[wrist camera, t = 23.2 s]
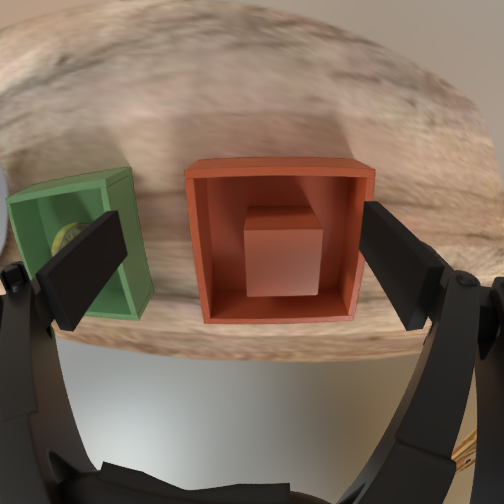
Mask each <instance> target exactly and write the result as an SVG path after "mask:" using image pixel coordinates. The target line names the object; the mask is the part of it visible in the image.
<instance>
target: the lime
mask: <svg viewBox="0 0 504 504" xmlns="http://www.w3.org/2000/svg"><path fill="white" fill-rule="evenodd" d="M87 226H89V224H87V223H71V224H68V225H66V226H64V227H63V228H62V229H61V230H60V231H59V232H58V233H57V235H56V237H55V238H54V241H53V244H52V249H51V251H52V257H53V256H54V255H55V254H57V253H58V252H59V251H60V250H61V249H62V248H63V247H64V246H65V245H67V244H68V243H69V242H70V241H71V240H72V239H73V238H75V237H76V236H77V235H78V234H79V233H80V232H82V231H83V230H84V229H85V228H86V227H87Z"/></svg>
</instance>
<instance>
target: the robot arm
mask: <svg viewBox="0 0 504 504" xmlns="http://www.w3.org/2000/svg"><path fill="white" fill-rule="evenodd" d="M358 249H359V251H360V252H361V254H362V255H363V257H364V258H365V260H366V262H367V263H368V265H369V266H370V268H371V270H372V271H373V273H374V275H375V276H376V278H377V280H378V281H379V283H380V285H381V286H382V288H383V290H384V291H385V293H386V295H387V297H388V298H389V300H390V302H391V304H392V305H393V307H394V309H395V311H396V312H397V314H398V316H399V318H400V320H401V322H402V323H403V325H404V327H405V329H406V331H411V330H417V329H423V327H424V325H425V322H426V320H427V317H429V318H430V320H431V321H432V325H431V327H430V330H429V332H428V334H427V336H426V339H425V341H424V343H423V345H424V347H423V350H422V352H421V355H420V358H419V360H418V363H417V365H416V368H415V370H414V373H413V375H412V378H411V380H410V382H409V384H408V387H407V389H406V391H405V394H404V396H403V398H402V400H401V402H400V404H399V406H398V408H397V410H396V412H395V414H394V416H393V418H392V420H391V422H390V424H389V426H388V428H387V430H386V431H385V433H384V435H383V437H382V439H381V440H380V442H379V444H378V446H377V447H376V449H375V450H374V452H373V454H372V456H371V457H370V459H369V461H368V462H367V463H366V465H365V467H364V468H363V470H362V471H361V473H360V474H359V475H358V477H357V478H356V480H355V481H354V482H353V483H352V485H351V486H350V487H349V488H348V490H347V491H346V492H345V493H344V494H343V496H342V497H341V498H340V500H339V501H338V502H337V503H336V504H442V503H443V501H444V499H445V497H446V495H447V492H448V490H449V488H450V485H451V483H452V480H453V478H454V475H455V471H456V462H455V461H453V460H452V459H451V455H452V451H453V448H454V445H455V442H456V439H457V436H458V433H459V429H460V426H461V422H462V419H463V415H464V412H465V408H466V404H467V399H468V395H469V390H470V385H471V380H472V375H473V369H474V366H475V376H476V389H477V390H476V391H477V448H476V461H475V471H474V479H473V486H472V493H471V498H470V504H504V277H496V278H495V279H494V282H493V284H492V287H484V286H481V285H480V282H479V280H478V279H477V278H476V277H475V276H473V275H472V274H470V273H468V272H465V271H461V270H455V271H454V270H453V269H452V268H451V267H450V265H449V264H448V263H447V262H446V261H445V260H444V259H443V258H441V256H440V255H439V254H438V253H437V252H436V251H435V250H434V249H433V248H432V247H431V246H429V245H427V244H426V243H424V242H422V241H420V240H419V239H418V238H417V237H416V236H415V235H414V234H413V233H412V232H410V231H409V230H408V229H407V228H406V227H405V226H404V225H403V224H402V223H401V222H400V221H399V220H398V219H396V218H395V217H394V216H393V215H392V214H391V213H390V212H389V211H388V210H386V209H385V208H384V207H383V206H382V205H381V204H380V203H378V202H377V201H364V207H363V217H362V225H361V233H360V241H359V248H358ZM127 256H128V252H127V248H126V244H125V240H124V236H123V231H122V227H121V222H120V217H119V213H118V210H112V211H106V212H105V213H103V214H102V215H101V216H100V217H98V218H97V219H96V220H95V221H94V222H92V223H91V224H90V225H89V226H87V227H86V228H85V229H84V230H83V231H82V232H80V233H79V234H78V235H77V236H76V237H75V238H73V239H72V240H71V241H70V242H69V243H68V244H67V245H65V246H64V247H63V248H62V249H61V250H60V251H59V252H58V253H57V254H55V255H54V256H53V257H52V258H51V259H50V260H49V261H48V262H47V263H46V264H45V265H44V266H43V267H42V268H41V269H40V270H39V271H38V272H37V273H36V274H35V277H34V278H33V279H32V280H31V281H30V278H29V276H28V273H27V271H26V268H25V266H24V263H23V262H22V261H17V262H14V263H12V264H10V265H8V266H6V267H5V268H3V269H2V270H1V271H0V279H1V281H2V284H3V286H4V288H5V290H6V294H5V295H0V504H331V503H329V502H327V501H325V500H323V499H320V498H317V497H315V496H312V495H308V494H304V493H300V492H294V491H290V483H280V484H279V483H278V484H235V485H230V486H223V487H216V488H209V489H199V490H184V489H181V488H179V487H176V486H174V485H171V484H169V483H166V482H164V481H162V480H159V479H157V478H155V477H153V476H150V475H148V474H146V473H144V472H141V471H137V470H133V469H129V468H125V467H122V466H118V465H114V464H111V463H107V462H103V464H102V467H101V470H97V469H96V468H95V467H94V465H93V464H92V463H91V461H90V459H89V458H88V456H87V453H86V451H85V448H84V445H83V443H82V440H81V437H80V435H79V431H78V429H77V426H76V423H75V420H74V417H73V413H72V410H71V406H70V403H69V399H68V395H67V392H66V388H65V384H64V380H63V375H62V371H61V366H60V361H59V356H58V351H57V345H56V339H55V333H54V330H53V328H52V326H51V323H52V322H53V320H54V319H55V320H56V322H57V324H58V326H59V328H60V330H65V331H72V332H73V331H74V330H75V328H76V326H77V325H78V323H79V322H80V320H81V319H82V317H83V316H84V315H85V313H86V312H87V310H88V309H89V307H90V306H91V304H92V303H93V301H94V300H95V299H96V297H97V296H98V294H99V293H100V292H101V290H102V289H103V287H104V286H105V285H106V283H107V282H108V281H109V279H110V278H111V277H112V275H113V274H114V272H115V271H116V270H117V269H118V267H119V266H120V265H121V263H122V262H123V261H124V259H125V258H126V257H127Z"/></svg>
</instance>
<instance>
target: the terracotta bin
mask: <svg viewBox="0 0 504 504" xmlns="http://www.w3.org/2000/svg"><path fill="white" fill-rule="evenodd" d="M184 176H185V186H186V195H187V205H188V214H189V223H190V231H191V239H192V247H193V254H194V261H195V268H196V275H197V282H198V289H199V295H200V301H201V308H202V314H203V319H204V324H290V323H316V322H334V321H350V320H353V319H354V314H355V310H356V305H357V301H358V296H359V291H360V285H361V280H362V275H363V269H364V263H365V258H364V257H363V255H362V254H361V252H360V251H359V249H358V248H359V241H360V233H361V225H362V217H363V207H364V201H373V194H374V182H375V169H373V168H371V167H369V166H367V165H365V164H363V163H361V162H359V161H357V160H355V159H346V158H323V157H245V158H222V159H205V160H198V161H197V162H195V163H194V164H192V165H191V166H190V167H188V168H187V169H185V170H184ZM248 206H311V207H312V209H313V211H314V213H315V215H316V216H317V218H318V220H319V222H320V224H321V226H322V228H323V230H324V231H323V244H322V257H321V268H320V278H319V288H318V295H304V296H261V297H248V296H247V288H246V268H245V248H244V225H245V218H246V211H247V207H248Z"/></svg>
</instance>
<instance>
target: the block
mask: <svg viewBox="0 0 504 504" xmlns="http://www.w3.org/2000/svg"><path fill="white" fill-rule="evenodd" d="M323 231H324V230H323V228H322V226H321V224H320V222H319V220H318V218H317V216H316V215H315V213H314V211H313V209H312V207H311V206H248V207H247V211H246V218H245V225H244V248H245V268H246V288H247V296H248V297H261V296H304V295H318V288H319V278H320V268H321V257H322V244H323Z"/></svg>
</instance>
